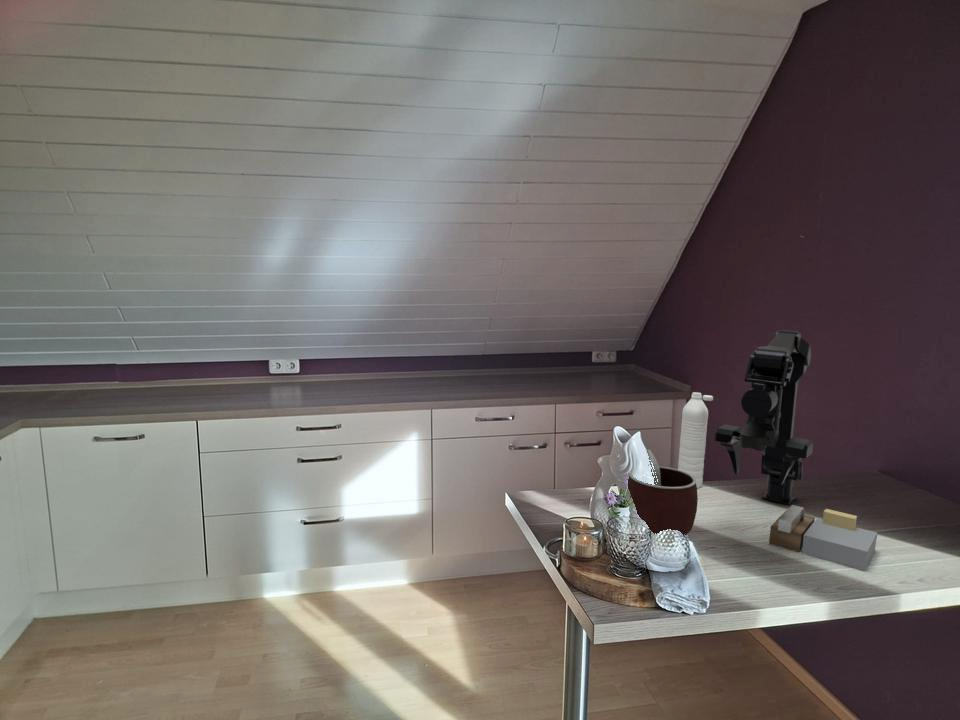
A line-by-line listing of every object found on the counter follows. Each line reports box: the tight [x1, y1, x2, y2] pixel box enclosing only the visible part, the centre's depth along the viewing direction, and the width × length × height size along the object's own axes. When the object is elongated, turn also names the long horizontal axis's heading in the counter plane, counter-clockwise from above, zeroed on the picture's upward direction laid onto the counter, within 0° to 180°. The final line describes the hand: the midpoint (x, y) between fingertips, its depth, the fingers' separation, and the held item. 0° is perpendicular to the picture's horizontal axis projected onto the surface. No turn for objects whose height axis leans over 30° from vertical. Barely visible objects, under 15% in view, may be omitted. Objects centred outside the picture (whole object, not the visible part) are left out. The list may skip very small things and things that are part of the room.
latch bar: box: [778, 504, 806, 533], centre depth 141 cm, size 11×3×2 cm, turn 141°
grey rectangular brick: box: [801, 508, 878, 572], centre depth 138 cm, size 12×12×7 cm
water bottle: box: [677, 391, 714, 489], centre depth 173 cm, size 9×6×25 cm
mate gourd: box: [627, 449, 699, 536], centre depth 132 cm, size 16×14×20 cm
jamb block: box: [768, 509, 816, 553], centre depth 144 cm, size 12×6×4 cm, turn 141°
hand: (758, 479), depth 142 cm, fingers open, 9 cm apart
